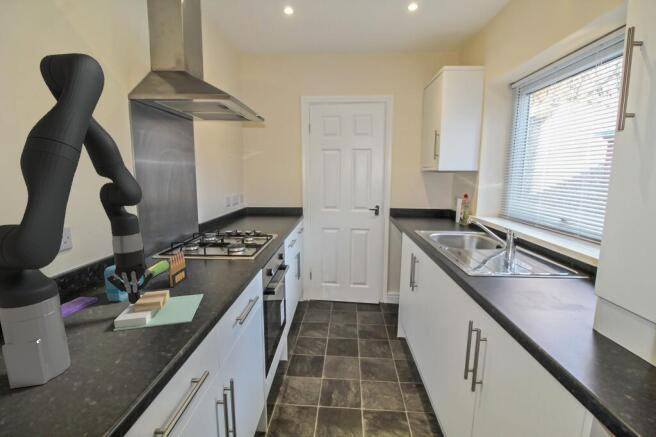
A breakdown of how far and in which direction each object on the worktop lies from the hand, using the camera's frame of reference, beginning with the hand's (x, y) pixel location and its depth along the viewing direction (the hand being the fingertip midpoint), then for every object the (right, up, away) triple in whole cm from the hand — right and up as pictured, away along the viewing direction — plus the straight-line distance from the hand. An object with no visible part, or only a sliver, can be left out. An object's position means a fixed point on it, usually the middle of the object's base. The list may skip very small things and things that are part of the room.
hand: (135, 302), depth 92 cm
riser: (+2, -4, +1) cm, 4 cm away
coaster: (+5, -1, +1) cm, 5 cm away
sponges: (-24, -4, +5) cm, 25 cm away
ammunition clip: (0, 0, +27) cm, 27 cm away
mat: (+8, -3, +2) cm, 9 cm away
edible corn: (-15, +1, +37) cm, 40 cm away
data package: (-13, -2, +15) cm, 20 cm away
